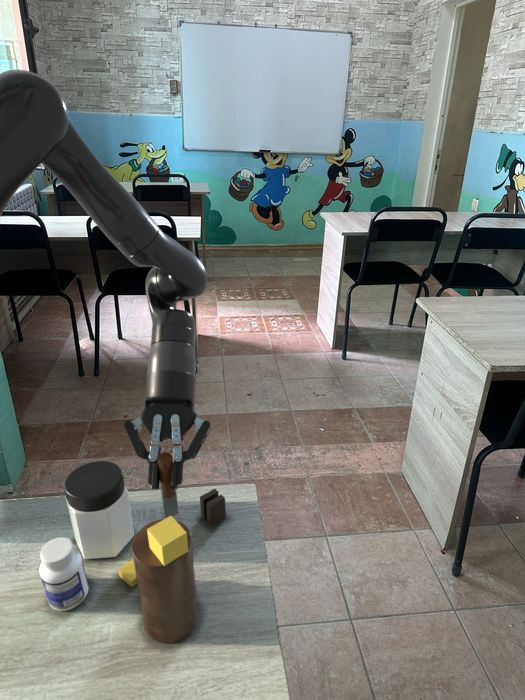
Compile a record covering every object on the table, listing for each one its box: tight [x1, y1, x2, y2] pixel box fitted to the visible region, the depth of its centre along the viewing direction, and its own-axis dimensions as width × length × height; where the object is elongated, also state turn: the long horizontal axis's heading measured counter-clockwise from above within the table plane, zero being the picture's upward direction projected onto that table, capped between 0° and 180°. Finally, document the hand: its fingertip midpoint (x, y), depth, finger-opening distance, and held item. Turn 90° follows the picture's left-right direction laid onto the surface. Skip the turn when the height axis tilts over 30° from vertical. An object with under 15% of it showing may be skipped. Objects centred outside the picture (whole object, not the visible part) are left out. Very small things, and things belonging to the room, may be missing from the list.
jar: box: [63, 460, 135, 560], centre depth 72 cm, size 9×8×12 cm
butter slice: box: [117, 558, 137, 588], centre depth 69 cm, size 1×3×3 cm
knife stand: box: [199, 488, 227, 528], centre depth 78 cm, size 3×3×4 cm
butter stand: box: [131, 518, 199, 644], centre depth 60 cm, size 7×7×14 cm
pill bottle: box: [38, 536, 89, 612], centre depth 64 cm, size 5×5×9 cm
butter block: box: [147, 516, 188, 566], centre depth 55 cm, size 3×3×3 cm
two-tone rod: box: [157, 452, 179, 519], centre depth 73 cm, size 2×2×12 cm
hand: (165, 488), depth 70 cm, fingers closed on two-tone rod, 2 cm apart
